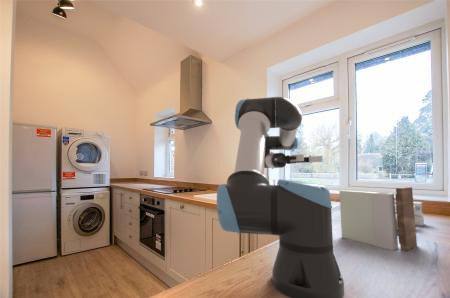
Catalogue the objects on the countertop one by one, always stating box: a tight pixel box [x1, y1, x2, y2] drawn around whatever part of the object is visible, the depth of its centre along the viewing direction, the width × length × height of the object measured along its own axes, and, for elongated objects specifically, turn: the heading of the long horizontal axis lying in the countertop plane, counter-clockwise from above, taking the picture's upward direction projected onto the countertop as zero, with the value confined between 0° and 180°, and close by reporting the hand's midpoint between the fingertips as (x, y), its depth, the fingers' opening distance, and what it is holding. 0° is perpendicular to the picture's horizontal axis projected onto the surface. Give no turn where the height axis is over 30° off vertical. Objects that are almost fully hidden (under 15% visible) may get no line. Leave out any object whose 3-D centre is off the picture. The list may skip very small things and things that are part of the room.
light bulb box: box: [395, 200, 425, 227], centre depth 110 cm, size 11×7×11 cm, turn 46°
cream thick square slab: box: [339, 189, 399, 251], centre depth 81 cm, size 17×5×18 cm, turn 35°
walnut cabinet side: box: [394, 186, 418, 252], centre depth 77 cm, size 6×11×20 cm, turn 125°
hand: (313, 158), depth 96 cm, fingers open, 13 cm apart
